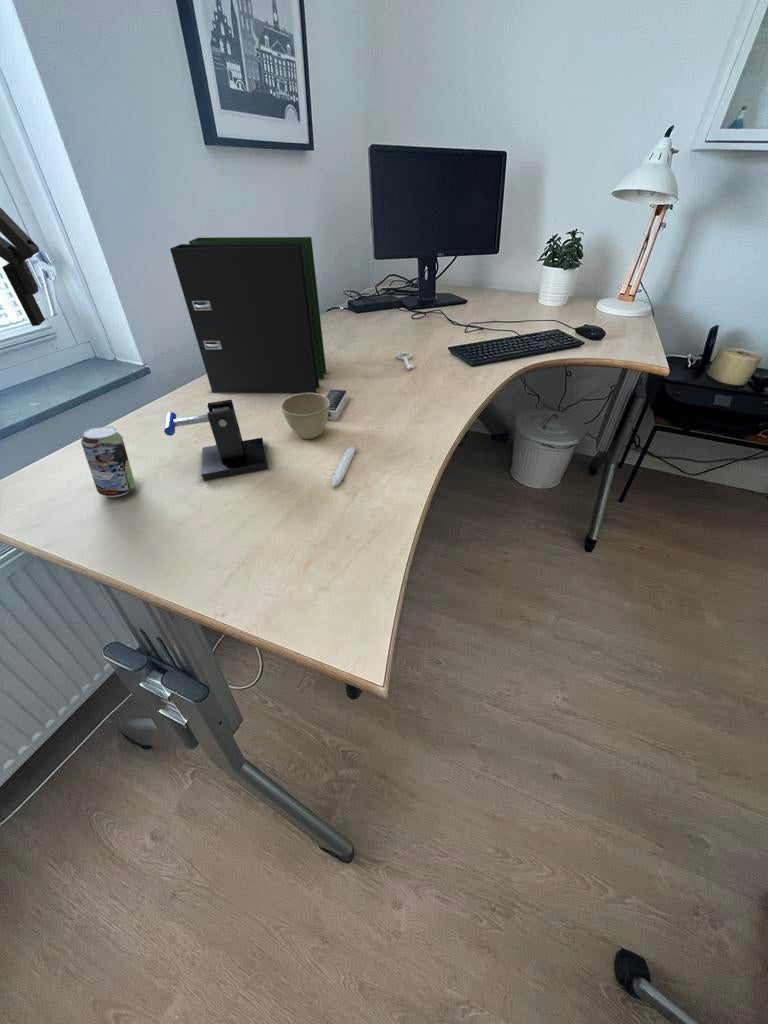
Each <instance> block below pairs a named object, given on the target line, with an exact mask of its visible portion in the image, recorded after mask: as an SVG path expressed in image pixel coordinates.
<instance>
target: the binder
mask: <svg viewBox="0 0 768 1024" xmlns="http://www.w3.org/2000/svg"><path fill="white" fill-rule="evenodd" d="M313 249H314V248H313V239H312V236H268V237H267V236H264V237H263V236H260V237H258V236H253V237H251V236H250V237H249V236H248V237H245V236H243V237H240V236H239V237H238V236H237V237H235V236H232V237H227V236H226V237H225V236H224V237H220V236H219V237H196V238H194V239H192V240H189V241H188V243H180V244H178V245H176V246H173V247H170V248H169V250H170V253H171V256H172V260H173V264H174V268H175V270H176V275H177V277H178V281H179V284H180V289H181V291H182V294H183V298H184V301H185V304H186V308H187V311H188V315H189V318H190V322H191V325H192V328H193V331H194V335H195V339H196V342H197V346H198V348H199V351H200V356H201V358H202V362H203V366H204V369H205V372H206V376H207V379H208V382H209V386H210V389H211V392H212V393H233V394H235V393H239V394H242V393H243V394H247V393H248V394H300V393H317V394H318V392H317V389H320V380H324V379H325V377H324V375H326V374H327V367H326V358H325V357H326V356H325V349H324V347H325V346H324V339H323V330H322V321H321V312H320V304H319V303H320V301H319V294H318V287H317V286H318V284H317V276H316V268H315V266H316V265H315V258H314V257H315V256H314V250H313Z"/></svg>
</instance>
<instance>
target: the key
mask: <svg viewBox="0 0 768 1024" xmlns="http://www.w3.org/2000/svg"><path fill="white" fill-rule="evenodd" d="M396 358H397V359H399V360H404V364H405V368H406V370H407V371H410V369H414V366H413V364H412V363H411V364H409V361H408V360H410V359H411V358H412V353H410V352H405V351H402V352H398V353H397V355H396Z"/></svg>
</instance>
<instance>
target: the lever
mask: <svg viewBox="0 0 768 1024" xmlns="http://www.w3.org/2000/svg"><path fill="white" fill-rule="evenodd" d="M228 409H229V407H228V406H227V407H220V408H213V412H214V411H221V410H228ZM177 417H178V416H177V414H176V413H175V412H173V411H169V412H168V413H167V414H166V417H165V424H164V429H163V432H164V434H165V435H166V436H169V437H170V436H174V435H175V433H176V428H177V427H184V426H189V425H195V424H203V423H209V419H208V416H207V413H206V414H200V415H193V416H187V417H181V418H177Z"/></svg>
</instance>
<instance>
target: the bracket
mask: <svg viewBox="0 0 768 1024" xmlns="http://www.w3.org/2000/svg"><path fill="white" fill-rule="evenodd" d="M206 405H207V409H208V412H206V414H207V416H208V419H209V422H208V423H209V425H210V429H211V432H212V435H213V438H214V441H215V445H209V446H203V447H201V448H202V449H201V477H202V480H203V481H204V482H205V481H211V480H215V479H221V478H226V477H227V478H228V477H232V476H233V477H234V476H238V475H243V474H249V473H254V472H260V471H265V470H269V465H268V461H267V460H268V459H267V455H266V449H265V444H264V439H263V437H257V438H252V439H246V440H243V437H242V433H241V429H240V426H239V422H238V418H237V414H236V411H235V407H234V403H233V399H225V400H219V401H212V402H207V403H206ZM227 406H228V407H229V409H228V410H221V411H214V412H213V408H220V407H227Z"/></svg>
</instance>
